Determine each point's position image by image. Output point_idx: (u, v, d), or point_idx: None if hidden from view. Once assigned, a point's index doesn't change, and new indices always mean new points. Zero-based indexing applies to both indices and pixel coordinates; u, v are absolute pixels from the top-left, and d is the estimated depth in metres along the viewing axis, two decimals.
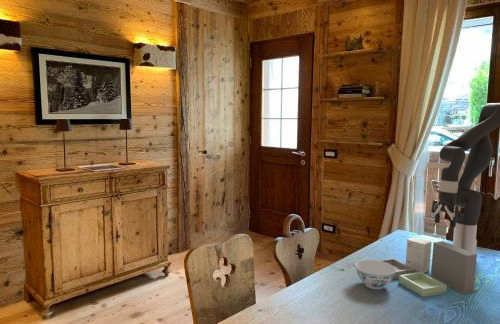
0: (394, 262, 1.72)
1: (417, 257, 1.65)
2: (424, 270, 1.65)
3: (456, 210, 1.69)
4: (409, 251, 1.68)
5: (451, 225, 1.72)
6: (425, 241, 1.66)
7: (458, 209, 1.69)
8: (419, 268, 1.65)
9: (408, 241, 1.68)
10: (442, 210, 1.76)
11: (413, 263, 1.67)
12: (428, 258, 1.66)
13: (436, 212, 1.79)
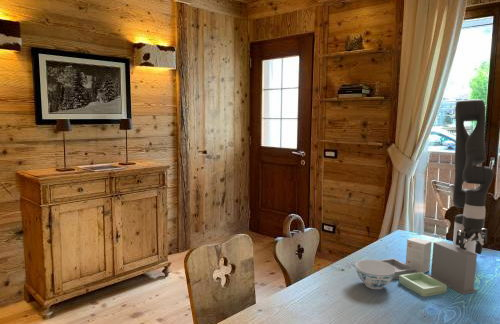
0: (394, 262, 1.72)
1: (417, 257, 1.65)
2: (424, 270, 1.65)
3: (486, 233, 1.56)
4: (409, 251, 1.68)
5: (480, 251, 1.57)
6: (425, 241, 1.66)
7: None
8: (419, 268, 1.65)
9: (408, 241, 1.68)
10: (472, 239, 1.54)
11: (413, 263, 1.67)
12: (428, 258, 1.66)
13: (466, 244, 1.53)
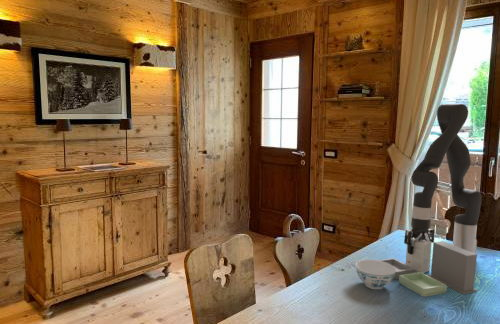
0: (394, 262, 1.72)
1: (417, 257, 1.65)
2: (424, 270, 1.65)
3: (433, 233, 1.68)
4: None
5: None
6: (425, 241, 1.66)
7: None
8: (419, 268, 1.65)
9: None
10: (419, 238, 1.66)
11: (413, 263, 1.67)
12: (428, 258, 1.66)
13: (413, 243, 1.65)
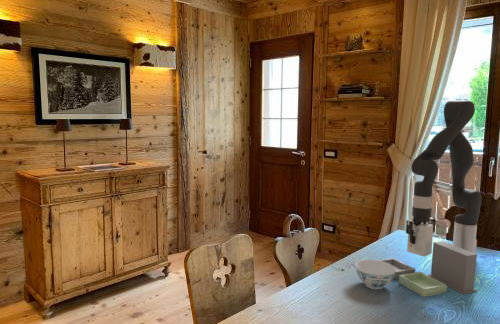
0: (394, 262, 1.72)
1: (418, 240, 1.65)
2: (426, 253, 1.64)
3: (434, 222, 1.68)
4: None
5: None
6: None
7: None
8: (421, 251, 1.64)
9: None
10: None
11: (415, 246, 1.66)
12: (430, 241, 1.65)
13: (415, 233, 1.64)
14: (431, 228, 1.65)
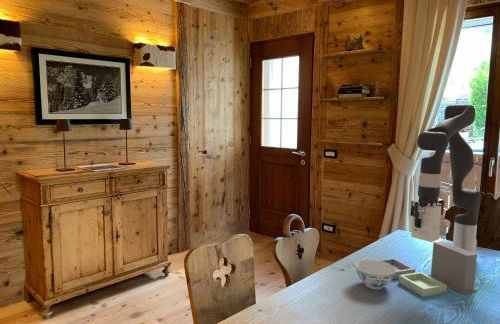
0: (394, 262, 1.72)
1: (424, 224, 1.45)
2: (433, 238, 1.44)
3: (443, 204, 1.48)
4: None
5: None
6: (434, 206, 1.46)
7: None
8: (427, 236, 1.45)
9: None
10: None
11: (420, 230, 1.47)
12: (437, 225, 1.46)
13: (421, 215, 1.45)
14: (439, 210, 1.45)
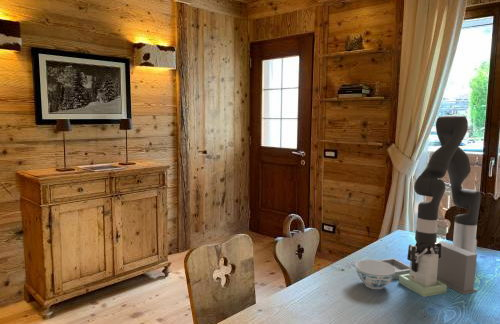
0: (394, 262, 1.72)
1: (421, 272, 1.47)
2: None
3: (440, 248, 1.50)
4: None
5: None
6: (431, 254, 1.48)
7: None
8: (424, 284, 1.47)
9: None
10: (424, 254, 1.48)
11: (417, 278, 1.49)
12: (434, 273, 1.48)
13: (418, 259, 1.47)
14: (436, 259, 1.47)
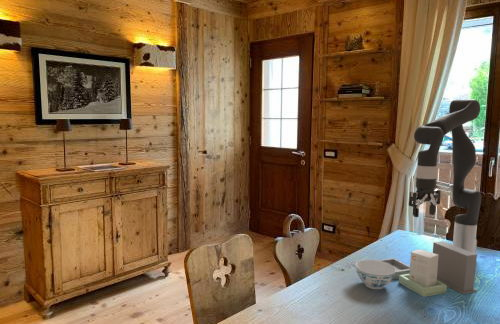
0: (394, 262, 1.72)
1: (421, 272, 1.47)
2: None
3: (439, 194, 1.57)
4: (413, 265, 1.50)
5: (434, 212, 1.58)
6: (431, 254, 1.48)
7: None
8: (424, 284, 1.47)
9: (412, 254, 1.50)
10: (425, 200, 1.55)
11: (417, 278, 1.49)
12: (434, 273, 1.48)
13: (418, 205, 1.54)
14: (436, 259, 1.47)
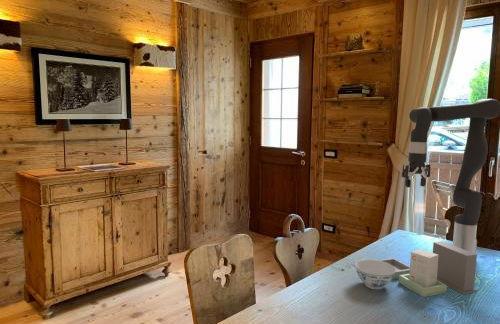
0: (394, 262, 1.72)
1: (421, 272, 1.47)
2: None
3: (429, 168, 1.78)
4: (413, 265, 1.50)
5: (424, 183, 1.79)
6: (431, 254, 1.48)
7: None
8: (424, 284, 1.47)
9: (412, 254, 1.50)
10: (416, 172, 1.76)
11: (417, 278, 1.49)
12: (434, 273, 1.48)
13: (410, 176, 1.75)
14: (436, 259, 1.47)
